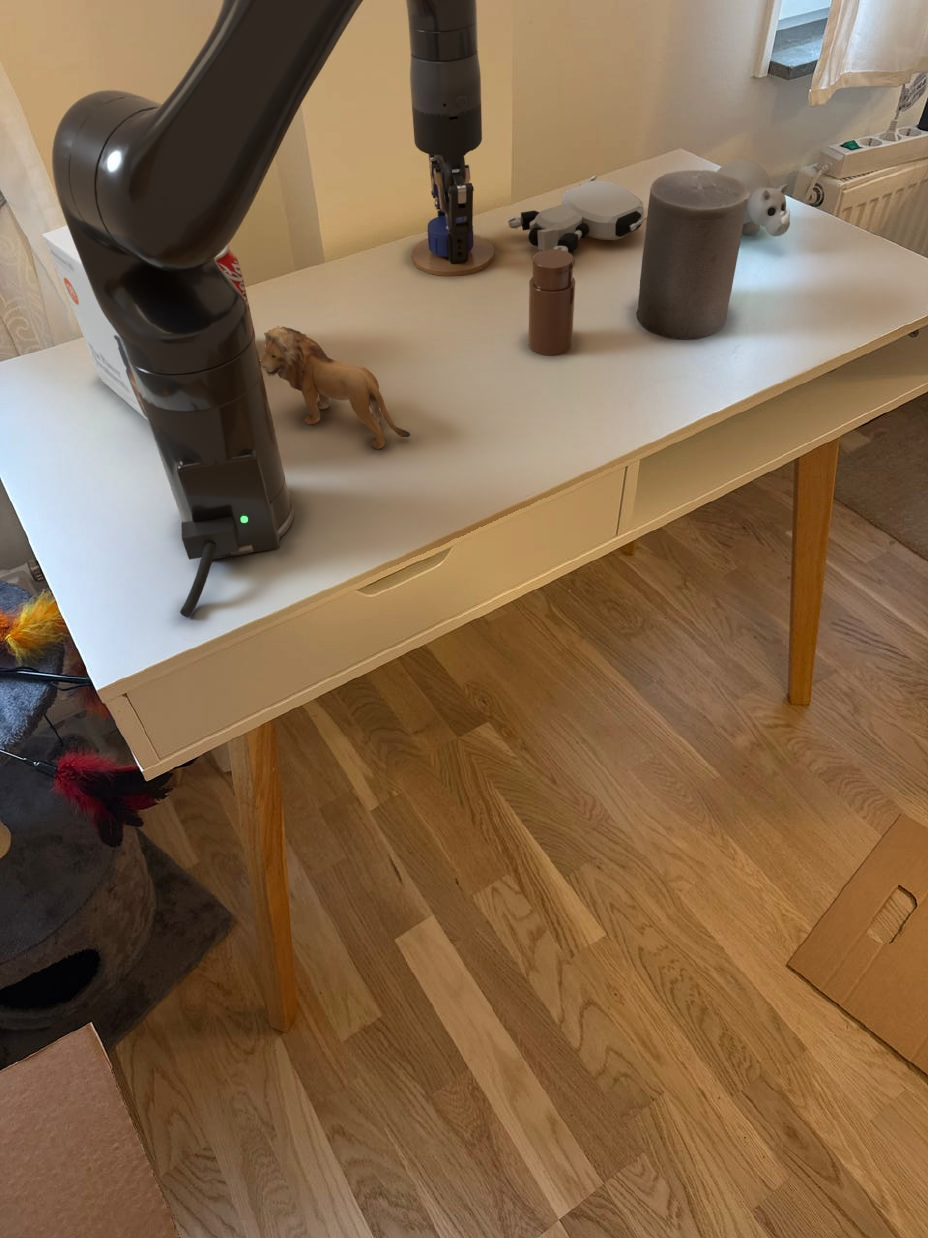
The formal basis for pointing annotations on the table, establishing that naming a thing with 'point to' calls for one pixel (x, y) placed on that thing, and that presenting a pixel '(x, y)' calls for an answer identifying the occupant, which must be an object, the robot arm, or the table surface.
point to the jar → (551, 302)
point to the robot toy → (583, 216)
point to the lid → (442, 236)
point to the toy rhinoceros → (760, 198)
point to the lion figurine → (325, 380)
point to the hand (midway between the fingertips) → (453, 250)
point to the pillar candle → (690, 252)
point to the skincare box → (93, 319)
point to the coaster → (441, 265)
